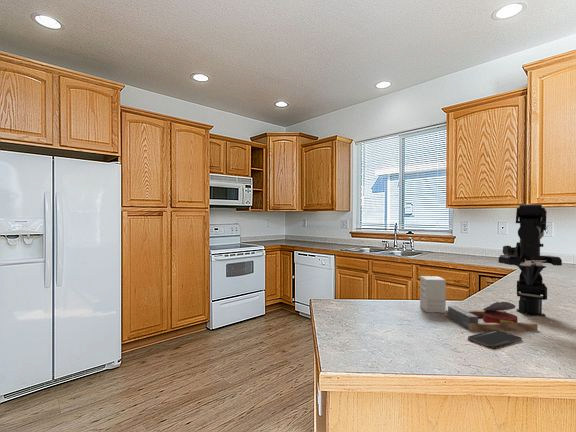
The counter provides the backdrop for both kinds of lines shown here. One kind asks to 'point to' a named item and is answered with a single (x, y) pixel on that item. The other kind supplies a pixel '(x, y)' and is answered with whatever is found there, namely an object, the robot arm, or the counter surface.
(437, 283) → the supplement box
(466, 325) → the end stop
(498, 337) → the phone
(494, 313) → the canned food
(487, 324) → the guide channel
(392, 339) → the counter surface
